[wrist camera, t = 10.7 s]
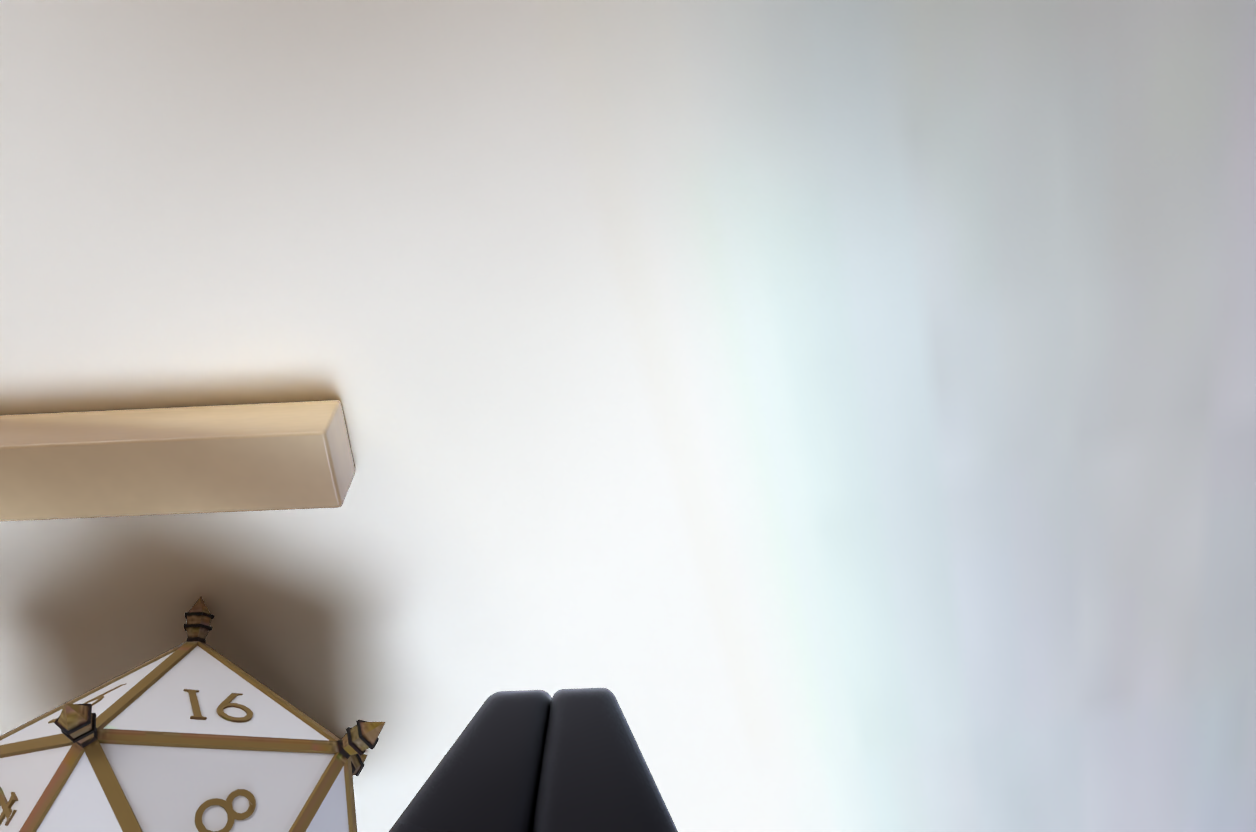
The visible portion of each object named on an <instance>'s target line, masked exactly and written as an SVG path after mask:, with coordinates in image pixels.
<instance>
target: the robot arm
mask: <svg viewBox="0 0 1256 832" xmlns="http://www.w3.org/2000/svg"><path fill="white" fill-rule="evenodd" d="M389 832H678V831H677V829H676V827H675V825H674V822H673V820H672V818H671V816H670V814H669V812H668V809H667V807H666V805H665V803H664V801H663V799H662V797H661V794H660V792H659V790H658V788H657V786H656V784H655V781H654V779H653V777H652V775H651V773H650V771H649V769H648V766H647V764H646V762H645V760H644V758H643V756H642V753H641V751H640V749H639V747H638V745H637V743H636V741H635V738H634V736H633V734H632V732H631V730H630V728H629V725H628V723H627V721H626V719H625V717H624V715H623V713H622V710H621V708H620V706H619V704H618V702H617V700H616V698H615V696H614V694H613V693H612V692H611V691H610V690H608V689H606V688H588V689H562V690H559V691H557V692H556V693H555V694H554V696H553V698H551V696H550V695H549V694H548V693H547V692H545V691H543V690H530V691H502V692H497V693H494V694H493V695H491V696H490V697H489V698H488V699H487V700H486V701H485V702H484V704H483V705H482V706H481V708H480V709H479V711H478V712H477V713H476V715H475V716H474V717H473V719H472V720H471V721H470V723H469V724H468V725H467V727H466V728H465V729H464V731H463V732H462V734H461V735H460V736H459V738H458V739H457V740H456V742H455V743H454V744H453V746H452V747H451V748H450V750H449V751H448V752H447V754H446V755H445V757H444V758H443V759H442V761H441V762H440V763H439V765H438V766H437V767H436V769H435V770H434V771H433V773H432V774H431V775H430V777H429V778H428V780H427V781H426V782H425V784H424V785H423V786H422V788H421V789H420V790H419V792H418V793H417V794H416V796H415V797H414V798H413V800H412V801H411V803H410V804H409V805H408V807H407V808H406V809H405V811H404V812H403V813H402V815H401V816H400V817H399V819H398V820H397V821H396V823H395V824H394V826H393V827H392V828H391V830H390V831H389Z"/></svg>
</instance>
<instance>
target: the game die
mask: <svg viewBox="0 0 1256 832" xmlns="http://www.w3.org/2000/svg"><path fill="white" fill-rule="evenodd" d="M185 617H186V619H187V624H184V629H185V631H187V636H188V638H187V641H186V642H184V643H182V644H181V645H179V646H177V647H175V648H173V649H171V650H169V651H167V652H165V653H163V654H161V655H159V656H157V657H155V658H153V659H151V660H149V661H147V662H145V663H143V664H141V665H139V666H137V667H135V668H133V669H131V670H130V671H128V672H126V673H124V674H122V675H120V676H118V677H116V678H114V679H112V680H110V681H108V682H106V683H104V684H102V685H100V686H98V687H96V688H94V689H92V690H90V691H88V692H86V693H84V694H82V695H80V696H78V697H77V698H75V699H73V700H71V701H69V702H67V703H65V704H63V705H61V706H59V707H57V708H55V709H53V710H51V711H49V712H47V713H45V714H43V715H41V716H39V717H37V718H35V719H33V720H31V721H29V722H27V723H25V724H24V725H22V726H20V727H18V728H16V729H14V730H12V731H10V732H8V733H6V734H4V735H2V736H0V832H357V825H356V813H355V801H354V790H353V778H352V776H353V775H356V776H358V775H359V774H360V772H361V770H362V768H363V767H364V761H365V759H366V757H367V755H365V754H364V752H365V750H366V749H368V748H370V749H373V748H374V747H375V745H376V744H377V742H378V740H379V739H378V735H379V733H380V731H381V730H382V728H383V726H384V724H385V722H366V721H362V720H358V721H356V722H357V725H356V726H354V727H353V728H350V727H348V728H347V729H346V731H347V733H346V734H345V736H344V737H343V738H342V739H340V738H338V737H337V736H335V735H334V734H333V733H331V732H330V731H328V730H327V729H326V728H324V727H323V726H321V725H320V724H319V723H317V722H316V721H314V720H313V719H311V718H310V717H309V716H307V715H306V714H304V713H303V712H302V711H300V710H299V709H297V708H296V707H295V706H293V705H292V704H290V703H289V702H287V701H286V700H285V699H283V698H282V697H280V696H279V695H278V694H276V693H275V692H273V691H272V690H271V689H269V688H268V687H266V686H265V685H264V684H262V683H261V682H259V681H258V680H256V679H255V678H254V677H252V676H251V675H249V674H248V673H247V672H245V671H244V670H242V669H241V668H240V667H238V666H237V665H235V664H234V663H232V662H231V661H230V660H228V659H227V658H225V657H224V656H223V655H221V654H220V653H218V652H217V651H216V650H214V649H213V648H211V647H210V646H209V645H207V644H206V642H205V638H206V636H207V633H208V631H210V630H212V627H210V623H211V619H213V618H214V615H211V613H210V612H209V610H208V608H207V606H206V604H205V603H204V601H203V599H202V597H200V598H199V599H198V601H197V602H196V603H195V604H194V606H193V607H192V608H191V609H190V611H189V612H187V613H185Z"/></svg>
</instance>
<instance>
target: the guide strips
mask: <svg viewBox="0 0 1256 832" xmlns="http://www.w3.org/2000/svg"><path fill="white" fill-rule="evenodd" d="M354 474H355V467H354V462H353V458H352V453H351V448H350V443H349V439H348V434H347V429H346V424H345V419H344V415H343V410H342V405H341V402H340V401H339V400H329V401H306V402H284V403H262V404H240V405H218V406H196V407H174V408H152V409H130V410H108V411H86V412H64V413H41V414H19V415H0V521H23V520H47V519H71V518H94V517H118V516H142V515H166V514H190V513H214V512H238V511H262V510H286V509H310V508H334V507H341V506H342V504H343V501H344V499H345V497H346V494H347V492H348V489H349V487H350V484H351V482H352V479H353V477H354Z"/></svg>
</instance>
